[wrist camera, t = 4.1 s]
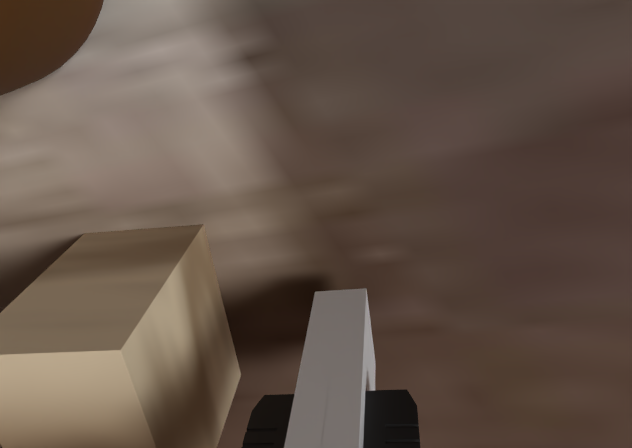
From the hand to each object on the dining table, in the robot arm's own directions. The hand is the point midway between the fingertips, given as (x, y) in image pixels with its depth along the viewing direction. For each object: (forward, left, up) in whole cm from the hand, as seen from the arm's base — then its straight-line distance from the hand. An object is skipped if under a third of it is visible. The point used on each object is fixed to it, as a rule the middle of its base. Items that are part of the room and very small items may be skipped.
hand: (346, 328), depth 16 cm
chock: (0, -6, -2) cm, 6 cm away
